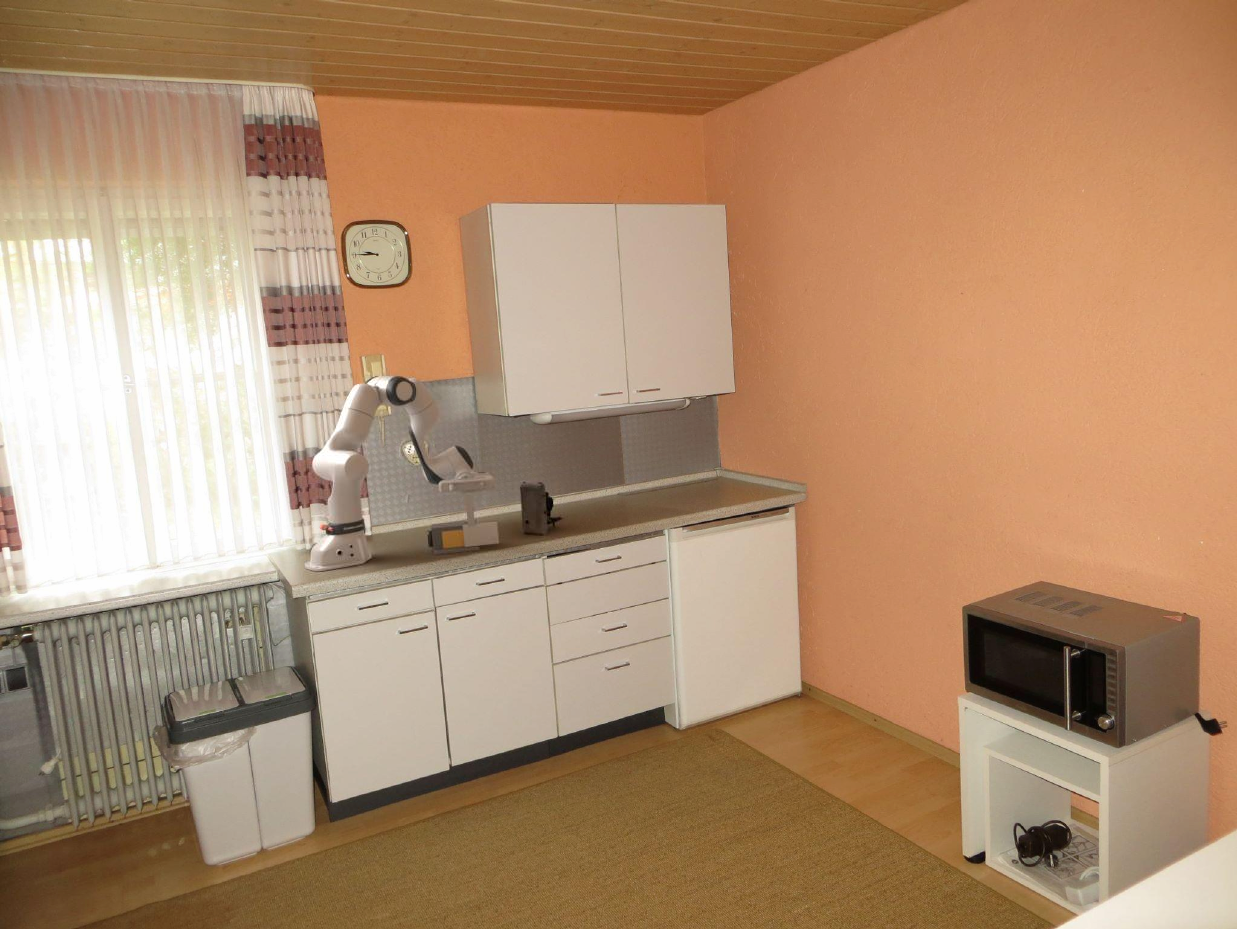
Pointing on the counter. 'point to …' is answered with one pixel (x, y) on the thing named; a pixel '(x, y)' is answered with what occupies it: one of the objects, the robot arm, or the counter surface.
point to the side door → (478, 528)
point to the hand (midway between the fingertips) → (467, 487)
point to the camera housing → (448, 538)
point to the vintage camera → (536, 508)
